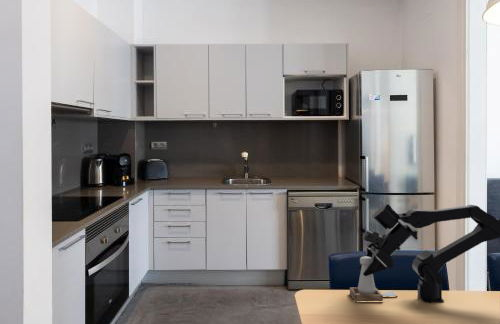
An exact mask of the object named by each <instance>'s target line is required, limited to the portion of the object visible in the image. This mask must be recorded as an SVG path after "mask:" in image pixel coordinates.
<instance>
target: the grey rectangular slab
mask: <svg viewBox="0 0 500 324" xmlns="http://www.w3.org/2000/svg"><path fill="white" fill-rule="evenodd" d="M386 292H387V293H383V294H382V295H383V296H397V297H398V295H397V294H396V293H395V292H394V291H392V292H389V291H386Z"/></svg>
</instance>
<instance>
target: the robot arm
mask: <svg viewBox="0 0 500 324" xmlns="http://www.w3.org/2000/svg"><path fill="white" fill-rule="evenodd" d="M372 219H373V220H374V221H376V222H377V223H378V224H379V225H380V226H381V227H382V228H383V229H384V230H387V229H388V230H389V232H388V233H384V234H382V235H380V233H379V232H377V231H376V230H375V231H370V230H368V229H365V231H364V233H363V236H362V239H363V241H366V242H368V243H367V244H366V246H365V250H366V251H365V252H366V253H365V256H367V257H371V258H372V262H371V263H370V265H369V266H368V267H367V269H366V270H365V271H364V273H363V275H364V276H368V275H370V274H373V275H374V274H375V273H379V272H382V271H384V270H388V269H389V270H391V269H392V268H393V267H394V266H395V261H394V259H393V257H392V255H393V254H394V253H395V252H396V251H400V250H401V247H402V246H403V244H405V242H407V240H409V238H413V239H414V240H416V241H417V240H418V231H417V230H416V229H422V228H425V227H428V226H431V225H433V224H436V223H440V222H446V221H447V222H449V221H455V220H456V221H457V220H463V219H471V220H472V221H474V222H475V224H477V225H476V226H475V227H474V228H473V230H471V231H470V232H469V233H467V234H465V235H463V236H462V237H460V238H458V239H456V240H455V241H453V242H452V243H449V244H447V245H445V246H444V247H442V248H441V249H439V250H437V251H435V252H431V251H429V250H426V249H425V250H424V251H423V252H422V253H421V254H417V255H415V258H414V259H413V260H412V263H411V264H412V265H411V266H412V269H413V271H415V273H416V274H417V275H418V277H419V278H418V284H417V297H418V298H419V299H420V300H421V301H423V302H424V303H425V302H426V303H427V302H431V303H432V302H435V303H436V302H439V303H441V302H442V303H444V302H445V300H444V299H443V295H442V293H443V292H442V291H443V289H442V288H443V287H442V284H443V281H444V276H442V275H441V274H440V271H441V269H442V268H443V266H444V265H445V264H447V263H449V262H450V261H452V260H453V259H456V258H458V257H459V256H462V255H463V254H464V253H466V252H467V251H470V250H471V249H473V248H475V247H477V246H478V245H481V244H482V243H485V242H490V241H494V240H498V239H499V238H500V218H496V217H495V216H493V215H491V214H490V213H488V212H486V211H485V210H484V209H482V208H481V207H479V206H478V205H475V204H468V205H463V206H454V207H446V208H439V209H433V210H432V209H430V210H429V209H417V208H413V209H412V208H411V209H408V210H407V211H406V212H403V213H397V212H396V211H395V210H394V209H393V208H392V207H391V205H390V203H389V204H388V203H386V204H385V205H383V206H381V207H380V208H379V209H377V210H376V211H375V212H374V214H372ZM400 221H401V222H402V223H404V224H402V223H401V222H400ZM410 226H411V227H412V228H415V229H414V230H413V229H412V228H411V227H410ZM359 264H360V263H359ZM361 267H362V264H360V265H359V266H358V268H359V269H360V270H361Z"/></svg>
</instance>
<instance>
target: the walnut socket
mask: <svg viewBox="0 0 500 324" xmlns="http://www.w3.org/2000/svg"><path fill="white" fill-rule="evenodd" d="M375 289H376V290H375V293H374V295H360V293H359V291H358V287H349V295H350V294H351V295H350V297H351V296H352V297H353V299H354V300H353V299H352V300H353V301H355V302H354V303H358V302H357V301H383V299H384V298H383V295H382V294H381V293H380V292H381V291H380V290H379V289H378V288H377V287H375ZM352 297H351V298H352ZM383 302H384V301H383Z"/></svg>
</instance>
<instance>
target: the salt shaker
mask: <svg viewBox="0 0 500 324" xmlns="http://www.w3.org/2000/svg"><path fill="white" fill-rule="evenodd" d="M371 262H372V258H371V257H367V256H361V257H360V258H359V264H362V267H361V269H360V274H359V280H358V285H357V288H358V291H359V293H360V295H374V293H375V290H376V289H375V288H376V284H375V280H374V279H375V278H374V273H373V274H370V275H368V276H364V275H363V273H364V271H365V270H366V269H367V267H368V266H369V265H370V263H371Z"/></svg>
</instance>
